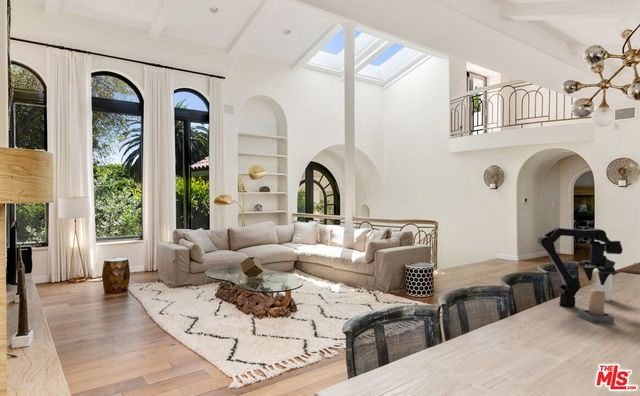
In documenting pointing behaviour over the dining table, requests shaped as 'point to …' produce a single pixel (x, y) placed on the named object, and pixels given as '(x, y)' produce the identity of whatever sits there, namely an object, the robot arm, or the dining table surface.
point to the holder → (596, 317)
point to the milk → (605, 286)
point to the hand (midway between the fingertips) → (595, 282)
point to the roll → (596, 302)
